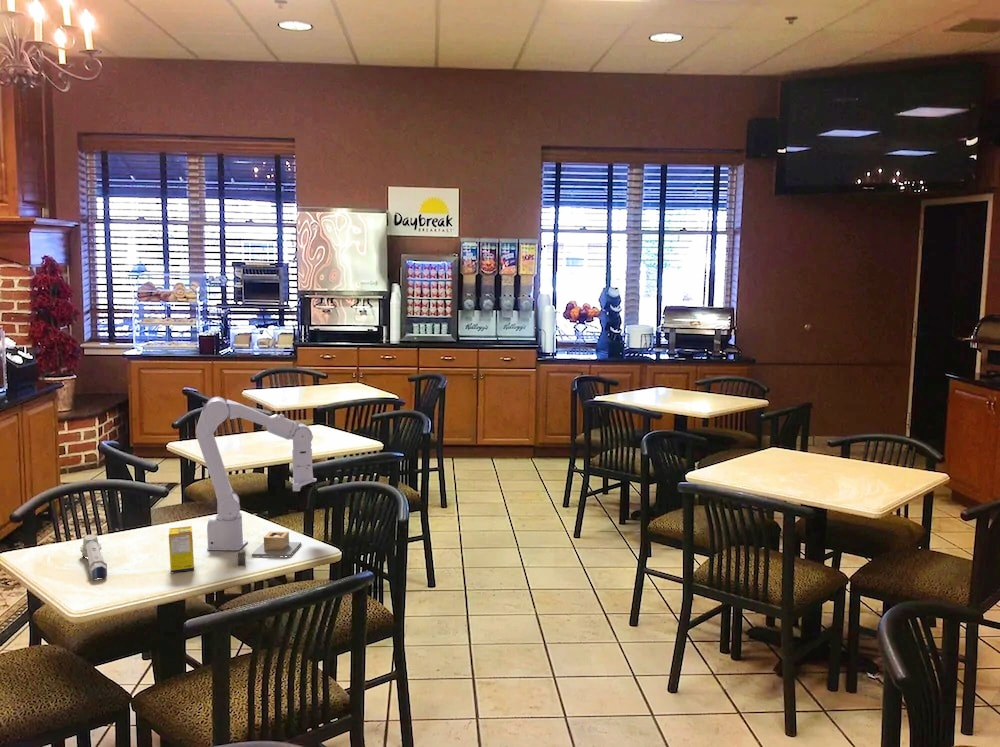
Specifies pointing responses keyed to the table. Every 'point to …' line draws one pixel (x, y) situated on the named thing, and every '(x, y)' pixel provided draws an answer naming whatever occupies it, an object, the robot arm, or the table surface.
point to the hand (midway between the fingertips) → (303, 508)
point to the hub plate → (286, 552)
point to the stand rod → (241, 558)
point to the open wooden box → (276, 541)
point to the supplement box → (181, 549)
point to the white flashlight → (94, 556)
